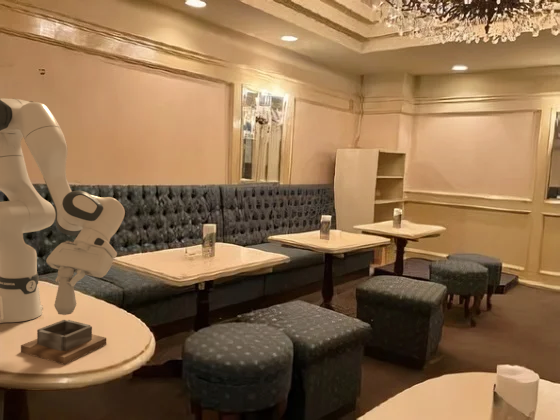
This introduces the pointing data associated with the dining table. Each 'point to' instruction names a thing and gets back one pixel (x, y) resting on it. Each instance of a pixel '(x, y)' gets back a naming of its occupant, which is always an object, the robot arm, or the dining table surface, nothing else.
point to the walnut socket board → (63, 342)
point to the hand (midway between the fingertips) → (64, 283)
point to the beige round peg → (65, 292)
